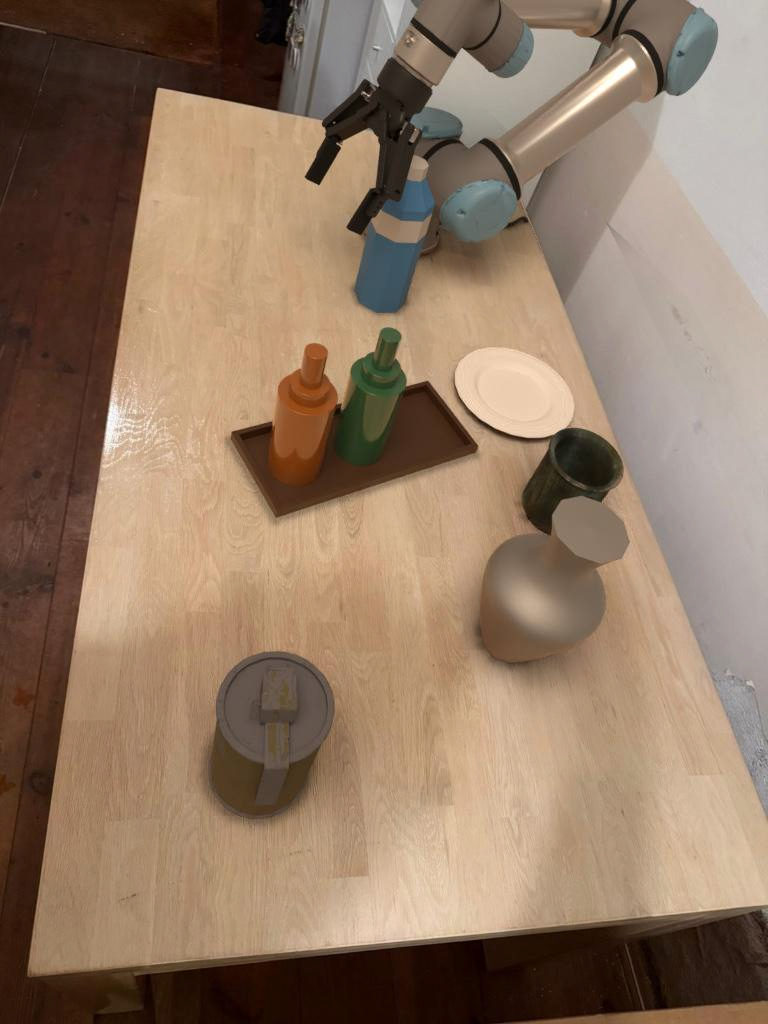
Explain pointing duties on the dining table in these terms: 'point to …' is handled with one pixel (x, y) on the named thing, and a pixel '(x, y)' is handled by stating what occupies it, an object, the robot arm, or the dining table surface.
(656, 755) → the dining table surface
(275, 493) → the tray
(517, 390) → the plate
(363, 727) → the dining table surface
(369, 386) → the green bottle
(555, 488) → the mug
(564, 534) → the vase
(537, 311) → the dining table surface
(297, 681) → the canister
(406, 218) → the water bottle
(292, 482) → the amber bottle
